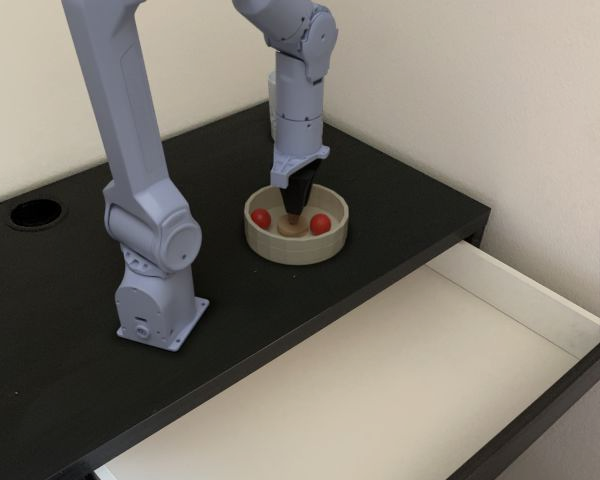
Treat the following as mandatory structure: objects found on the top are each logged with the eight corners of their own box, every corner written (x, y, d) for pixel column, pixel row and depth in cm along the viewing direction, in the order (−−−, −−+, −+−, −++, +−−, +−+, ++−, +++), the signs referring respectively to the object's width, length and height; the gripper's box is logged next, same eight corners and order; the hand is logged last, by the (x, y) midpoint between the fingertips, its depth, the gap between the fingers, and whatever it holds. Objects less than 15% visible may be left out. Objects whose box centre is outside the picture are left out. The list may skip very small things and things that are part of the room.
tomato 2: (328, 240, 91) (316, 225, 89) (313, 240, 93) (301, 225, 91) (338, 224, 92) (327, 208, 90) (323, 224, 94) (312, 209, 92)
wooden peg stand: (288, 241, 91) (292, 190, 85) (270, 225, 93) (273, 174, 87) (314, 232, 93) (319, 181, 87) (296, 216, 95) (300, 165, 89)
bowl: (328, 274, 88) (330, 249, 85) (229, 251, 90) (228, 226, 87) (358, 217, 96) (360, 193, 93) (267, 198, 99) (266, 173, 96)
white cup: (311, 151, 109) (313, 89, 101) (264, 146, 110) (263, 84, 102) (317, 128, 114) (320, 68, 106) (273, 123, 115) (272, 63, 107)
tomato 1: (270, 235, 93) (260, 227, 90) (253, 231, 94) (242, 223, 91) (277, 215, 92) (267, 207, 90) (260, 211, 94) (249, 203, 91)
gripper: (311, 144, 75) (307, 244, 85) (347, 91, 84) (340, 187, 94) (253, 132, 76) (256, 232, 86) (295, 82, 85) (293, 177, 96)
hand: (296, 208), depth 90 cm, fingers closed on wooden peg stand, 2 cm apart
